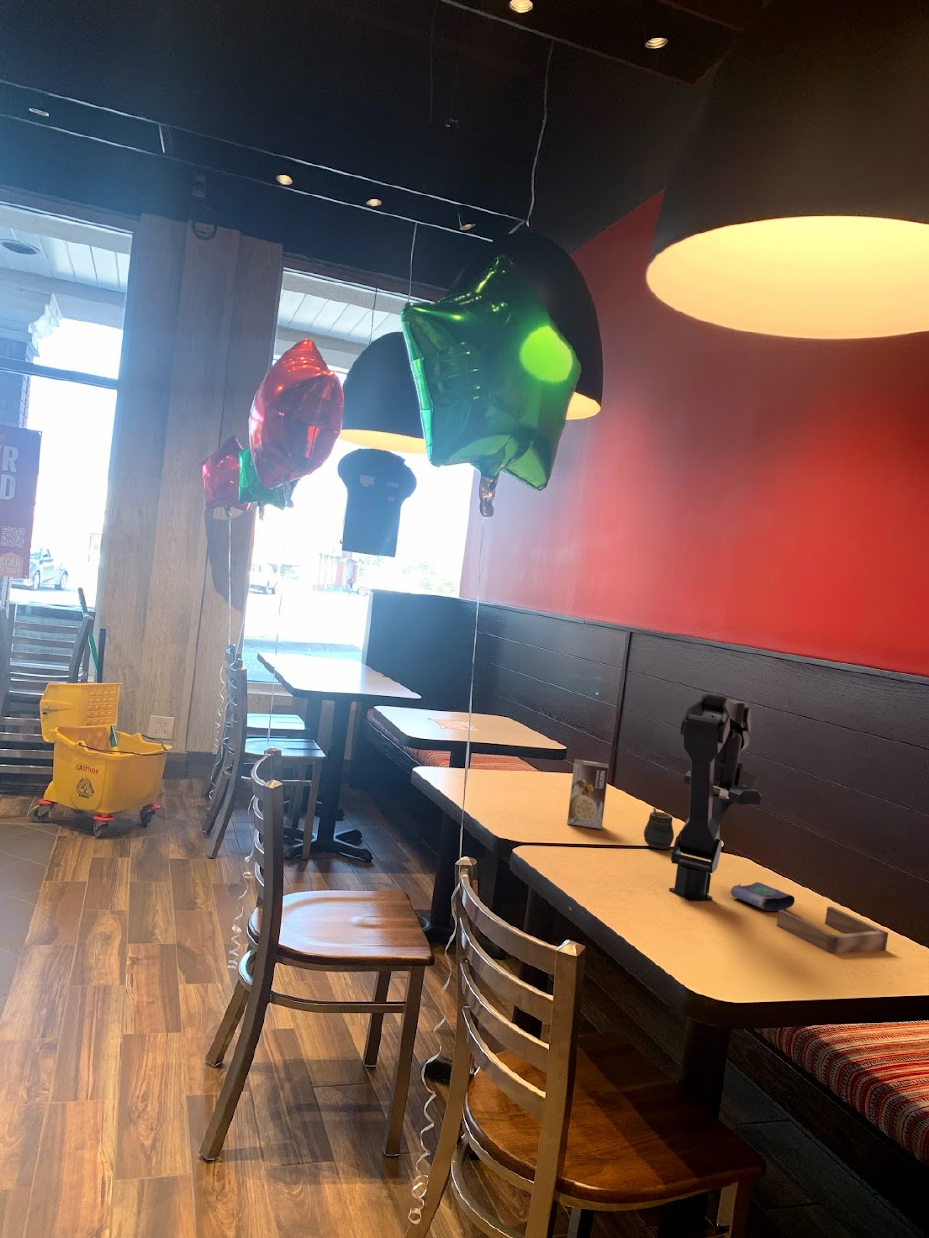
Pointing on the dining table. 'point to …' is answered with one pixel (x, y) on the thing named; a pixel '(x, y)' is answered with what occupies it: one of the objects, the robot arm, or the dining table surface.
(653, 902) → the dining table surface
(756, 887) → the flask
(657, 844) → the mate gourd
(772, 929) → the dining table surface
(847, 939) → the walnut u-shaped fence
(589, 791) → the coffee box
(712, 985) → the dining table surface
